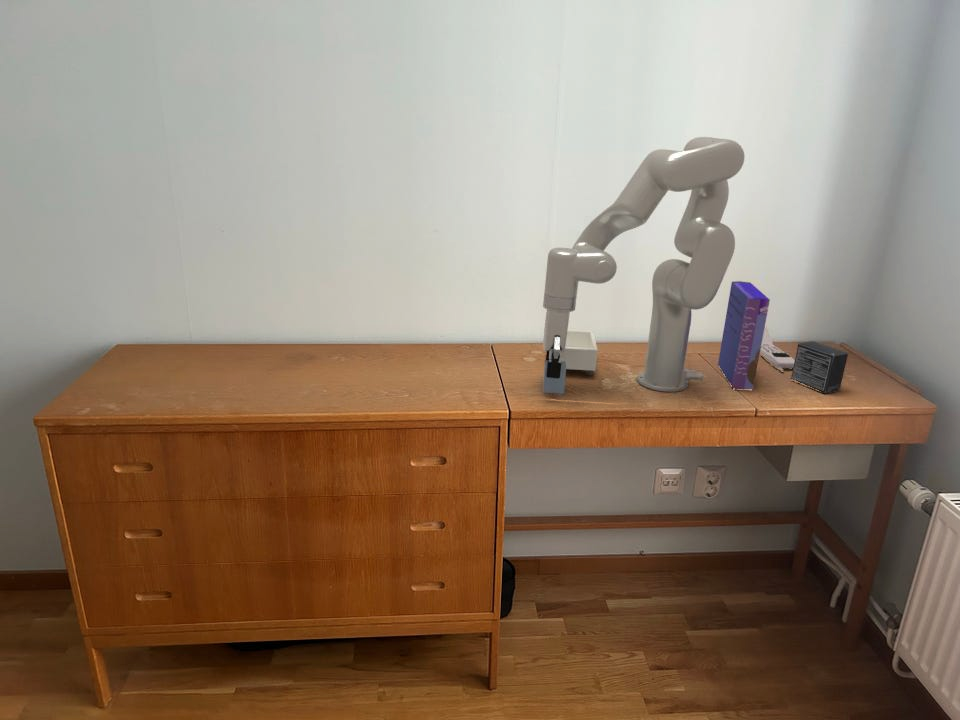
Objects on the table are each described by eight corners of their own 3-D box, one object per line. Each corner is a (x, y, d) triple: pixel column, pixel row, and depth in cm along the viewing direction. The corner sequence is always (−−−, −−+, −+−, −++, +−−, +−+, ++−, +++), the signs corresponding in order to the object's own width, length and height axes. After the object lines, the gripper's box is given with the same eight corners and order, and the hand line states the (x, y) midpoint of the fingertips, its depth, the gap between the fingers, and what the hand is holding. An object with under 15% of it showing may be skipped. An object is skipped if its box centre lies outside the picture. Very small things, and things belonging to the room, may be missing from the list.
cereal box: (752, 391, 175) (770, 298, 166) (733, 390, 175) (749, 297, 167) (735, 367, 191) (750, 281, 183) (717, 365, 191) (731, 280, 183)
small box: (841, 391, 177) (850, 352, 174) (825, 395, 174) (834, 356, 170) (805, 377, 186) (813, 339, 182) (789, 380, 183) (797, 343, 179)
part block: (563, 388, 172) (565, 361, 170) (563, 395, 167) (566, 368, 165) (542, 386, 172) (544, 360, 170) (543, 394, 168) (545, 367, 165)
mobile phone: (766, 326, 209) (804, 353, 186) (763, 344, 211) (800, 374, 188) (746, 325, 209) (782, 353, 186) (743, 344, 211) (778, 374, 188)
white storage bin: (590, 357, 192) (592, 331, 190) (594, 377, 178) (597, 350, 175) (548, 354, 193) (550, 329, 190) (549, 374, 178) (551, 347, 176)
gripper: (543, 291, 170) (536, 357, 176) (544, 310, 154) (537, 382, 160) (573, 294, 170) (566, 359, 176) (578, 313, 154) (569, 384, 159)
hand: (552, 370), depth 168 cm, fingers open, 9 cm apart
